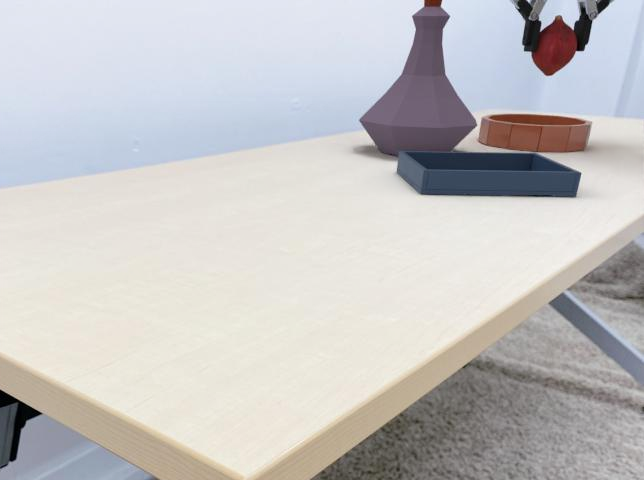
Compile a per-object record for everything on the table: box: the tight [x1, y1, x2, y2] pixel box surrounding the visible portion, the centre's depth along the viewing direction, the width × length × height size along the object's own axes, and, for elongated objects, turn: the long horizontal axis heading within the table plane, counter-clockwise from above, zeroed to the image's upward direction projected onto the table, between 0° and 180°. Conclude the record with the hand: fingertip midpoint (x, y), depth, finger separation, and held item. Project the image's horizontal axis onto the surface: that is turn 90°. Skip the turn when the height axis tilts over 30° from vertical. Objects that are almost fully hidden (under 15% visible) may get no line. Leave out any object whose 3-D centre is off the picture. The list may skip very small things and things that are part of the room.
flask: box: [358, 0, 478, 157], centre depth 94 cm, size 16×16×20 cm
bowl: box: [477, 113, 593, 153], centre depth 105 cm, size 15×15×4 cm
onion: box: [530, 14, 577, 77], centre depth 100 cm, size 6×6×8 cm
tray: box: [396, 151, 582, 198], centre depth 79 cm, size 16×12×2 cm
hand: (553, 49), depth 100 cm, fingers closed on onion, 5 cm apart
